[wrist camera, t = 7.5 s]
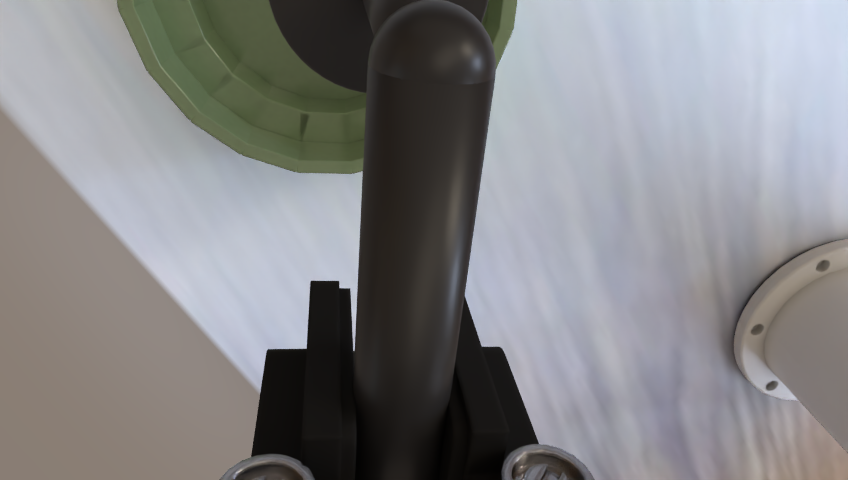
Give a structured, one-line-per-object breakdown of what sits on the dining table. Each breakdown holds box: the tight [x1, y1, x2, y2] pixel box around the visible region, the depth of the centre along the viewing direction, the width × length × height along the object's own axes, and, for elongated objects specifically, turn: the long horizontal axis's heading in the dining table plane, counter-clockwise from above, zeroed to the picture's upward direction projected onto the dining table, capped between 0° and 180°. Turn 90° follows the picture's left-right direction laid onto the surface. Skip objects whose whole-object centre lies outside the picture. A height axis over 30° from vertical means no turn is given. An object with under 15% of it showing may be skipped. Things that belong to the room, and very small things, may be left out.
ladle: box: [269, 0, 496, 480], centre depth 13 cm, size 15×5×11 cm, turn 175°
